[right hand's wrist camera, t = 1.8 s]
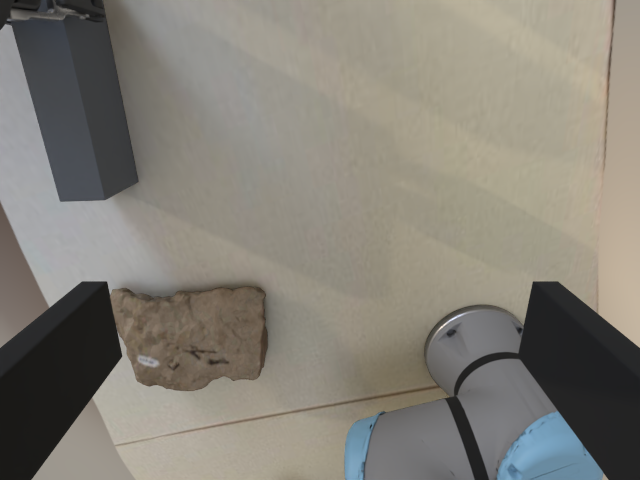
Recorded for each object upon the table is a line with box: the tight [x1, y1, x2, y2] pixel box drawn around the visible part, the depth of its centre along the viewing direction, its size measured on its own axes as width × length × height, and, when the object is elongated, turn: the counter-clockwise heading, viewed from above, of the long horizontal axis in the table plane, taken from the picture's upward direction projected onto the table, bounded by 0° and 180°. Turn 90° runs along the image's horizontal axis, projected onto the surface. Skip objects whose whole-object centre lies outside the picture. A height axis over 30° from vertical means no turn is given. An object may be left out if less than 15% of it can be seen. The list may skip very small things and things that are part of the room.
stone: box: [110, 287, 267, 391], centre depth 57 cm, size 21×15×6 cm
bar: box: [11, 0, 138, 202], centre depth 44 cm, size 23×5×9 cm, turn 2°
